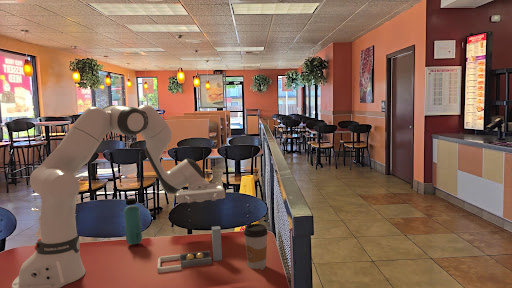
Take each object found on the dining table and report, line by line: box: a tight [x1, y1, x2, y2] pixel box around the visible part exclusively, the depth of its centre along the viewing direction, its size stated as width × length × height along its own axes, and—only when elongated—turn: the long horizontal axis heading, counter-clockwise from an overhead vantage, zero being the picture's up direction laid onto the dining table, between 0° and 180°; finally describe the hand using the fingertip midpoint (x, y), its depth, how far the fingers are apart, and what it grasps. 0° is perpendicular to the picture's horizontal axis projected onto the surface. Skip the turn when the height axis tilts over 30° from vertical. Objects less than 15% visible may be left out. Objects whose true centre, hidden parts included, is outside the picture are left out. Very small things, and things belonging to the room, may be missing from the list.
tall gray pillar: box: [211, 225, 223, 262], centre depth 144 cm, size 3×4×13 cm
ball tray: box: [157, 253, 182, 274], centre depth 140 cm, size 8×10×2 cm
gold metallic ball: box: [186, 254, 194, 260], centre depth 142 cm, size 3×3×3 cm
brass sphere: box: [196, 253, 204, 259], centre depth 143 cm, size 3×3×3 cm
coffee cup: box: [243, 223, 268, 271], centre depth 138 cm, size 8×8×15 cm
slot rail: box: [179, 250, 213, 269], centre depth 143 cm, size 11×7×3 cm, turn 102°
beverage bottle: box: [123, 197, 143, 245], centre depth 162 cm, size 6×7×20 cm
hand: (201, 199), depth 154 cm, fingers open, 8 cm apart
